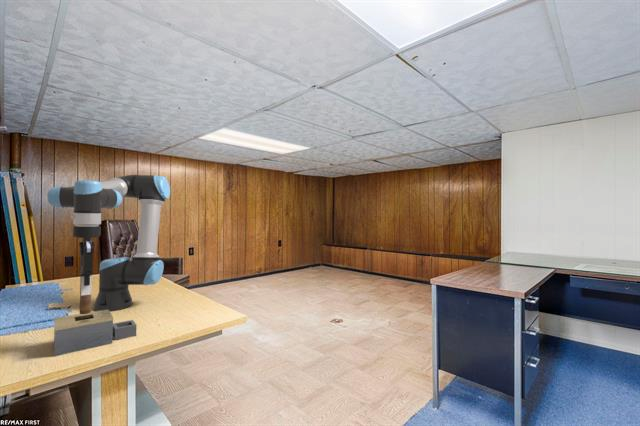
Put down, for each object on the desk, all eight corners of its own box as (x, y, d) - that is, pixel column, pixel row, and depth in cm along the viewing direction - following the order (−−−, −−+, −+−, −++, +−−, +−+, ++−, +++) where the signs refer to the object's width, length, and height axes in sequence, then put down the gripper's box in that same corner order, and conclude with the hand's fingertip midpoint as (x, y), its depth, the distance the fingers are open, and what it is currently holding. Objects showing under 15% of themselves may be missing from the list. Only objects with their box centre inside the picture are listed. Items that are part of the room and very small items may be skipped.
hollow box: (53, 344, 102) (54, 317, 102) (107, 333, 112) (108, 309, 112) (54, 356, 93) (55, 327, 94) (112, 343, 104) (113, 317, 104)
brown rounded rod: (79, 312, 103) (80, 266, 103) (90, 310, 105) (91, 265, 105) (80, 314, 101) (81, 267, 101) (91, 312, 103) (92, 266, 103)
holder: (111, 334, 111) (112, 323, 111) (132, 330, 115) (132, 319, 115) (114, 340, 106) (115, 329, 106) (136, 335, 110) (136, 324, 110)
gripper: (71, 224, 106) (70, 290, 106) (74, 227, 94) (73, 301, 95) (97, 224, 111) (96, 287, 111) (104, 226, 99) (102, 296, 100)
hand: (85, 293), depth 103 cm, fingers closed on brown rounded rod, 3 cm apart
